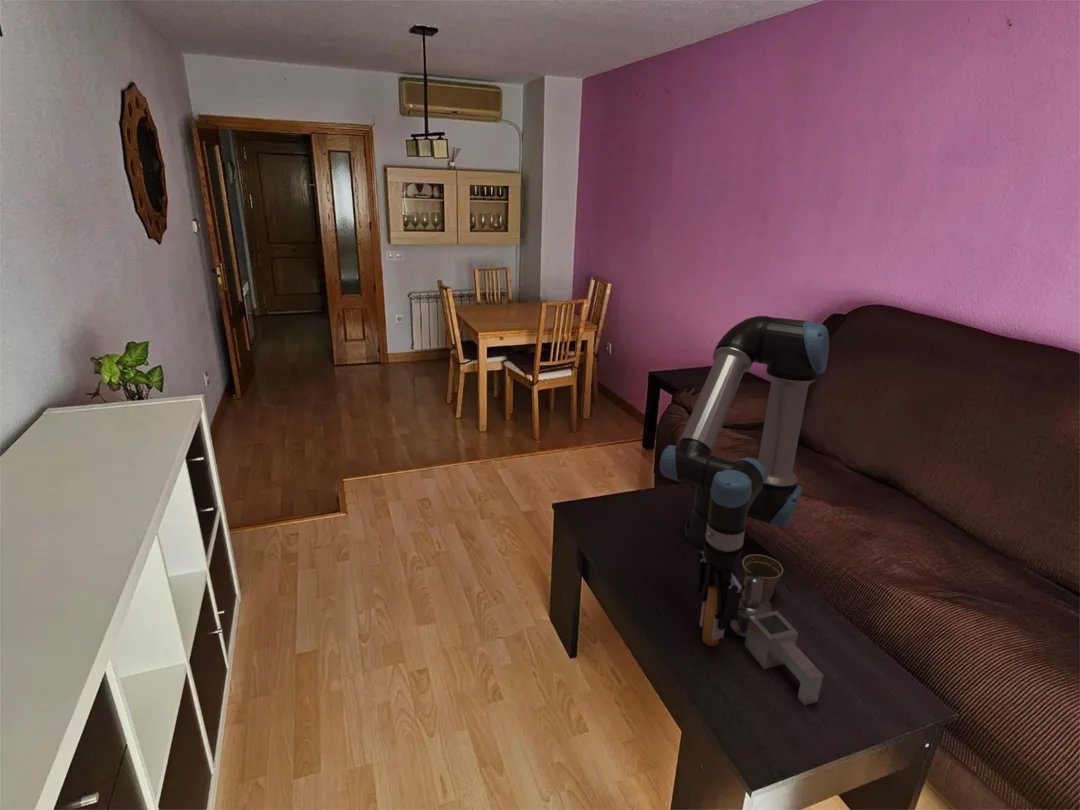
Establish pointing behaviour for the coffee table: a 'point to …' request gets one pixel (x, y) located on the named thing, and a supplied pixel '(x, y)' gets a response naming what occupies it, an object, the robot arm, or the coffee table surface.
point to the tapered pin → (710, 616)
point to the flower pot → (764, 571)
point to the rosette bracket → (773, 638)
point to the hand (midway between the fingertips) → (711, 630)
